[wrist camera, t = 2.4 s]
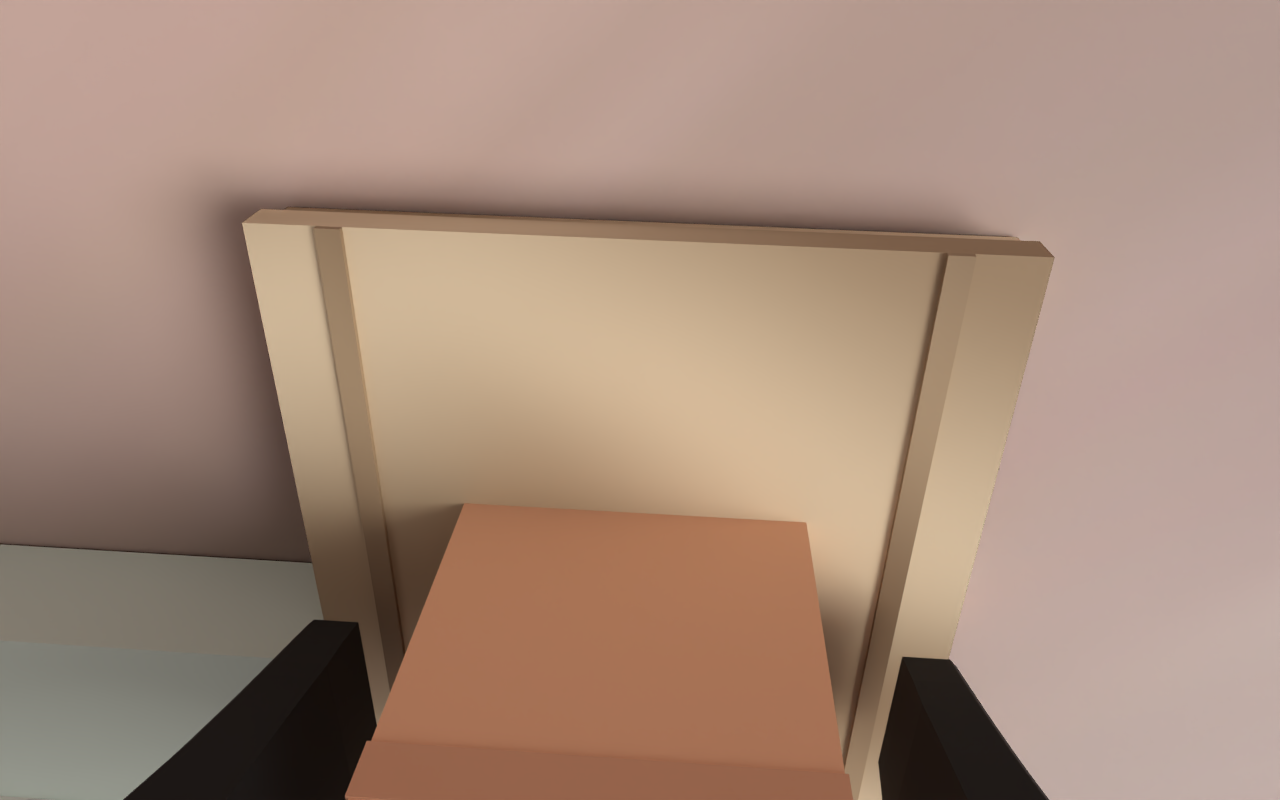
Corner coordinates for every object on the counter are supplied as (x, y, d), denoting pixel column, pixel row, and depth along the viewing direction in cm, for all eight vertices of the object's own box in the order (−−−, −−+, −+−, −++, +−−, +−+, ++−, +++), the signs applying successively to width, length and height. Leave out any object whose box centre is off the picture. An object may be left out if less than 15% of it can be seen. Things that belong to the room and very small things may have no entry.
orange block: (775, 756, 14) (801, 1092, 10) (484, 736, 14) (399, 1058, 10) (808, 520, 12) (858, 837, 8) (462, 501, 12) (342, 800, 8)
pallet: (872, 844, 17) (883, 912, 16) (395, 810, 17) (373, 873, 16) (1020, 222, 11) (1057, 260, 10) (284, 190, 11) (238, 225, 10)
